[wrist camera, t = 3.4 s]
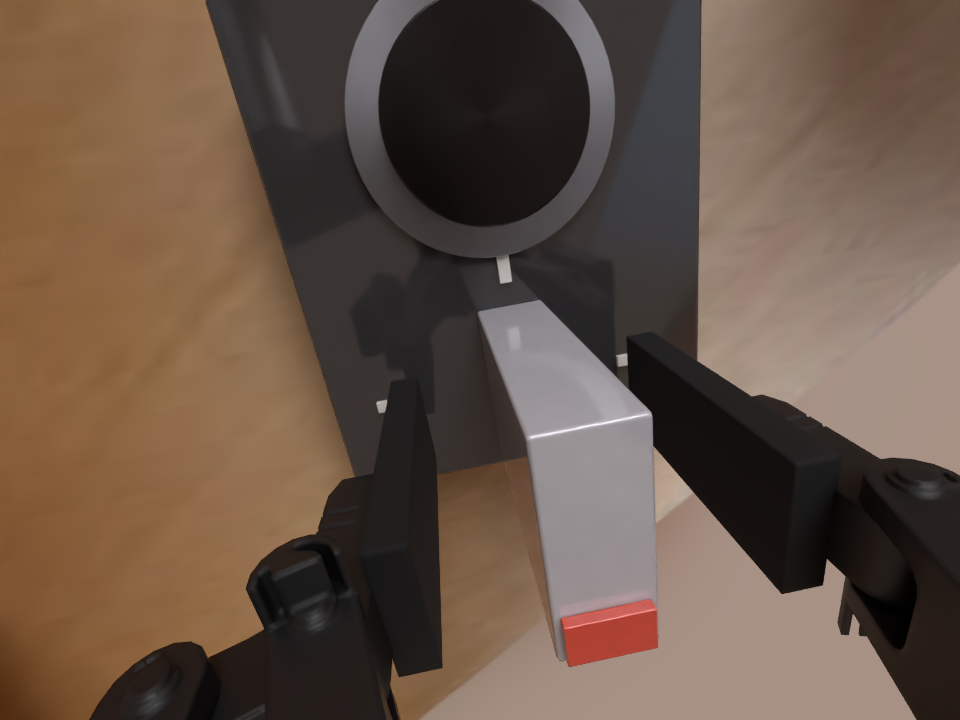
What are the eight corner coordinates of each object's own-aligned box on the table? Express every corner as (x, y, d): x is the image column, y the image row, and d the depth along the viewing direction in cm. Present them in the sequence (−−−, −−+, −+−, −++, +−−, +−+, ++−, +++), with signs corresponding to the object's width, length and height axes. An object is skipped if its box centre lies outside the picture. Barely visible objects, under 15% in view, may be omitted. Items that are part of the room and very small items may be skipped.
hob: (249, 36, 13) (199, -6, 10) (648, -28, 14) (707, -86, 11) (378, 478, 19) (369, 531, 16) (658, 422, 20) (699, 464, 17)
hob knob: (476, 311, 14) (528, 446, 7) (541, 298, 14) (662, 419, 7) (500, 451, 16) (561, 677, 8) (557, 439, 16) (666, 653, 9)
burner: (310, -20, 11) (299, -40, 10) (603, -66, 11) (619, -90, 10) (382, 276, 13) (378, 283, 12) (618, 233, 14) (632, 237, 13)
